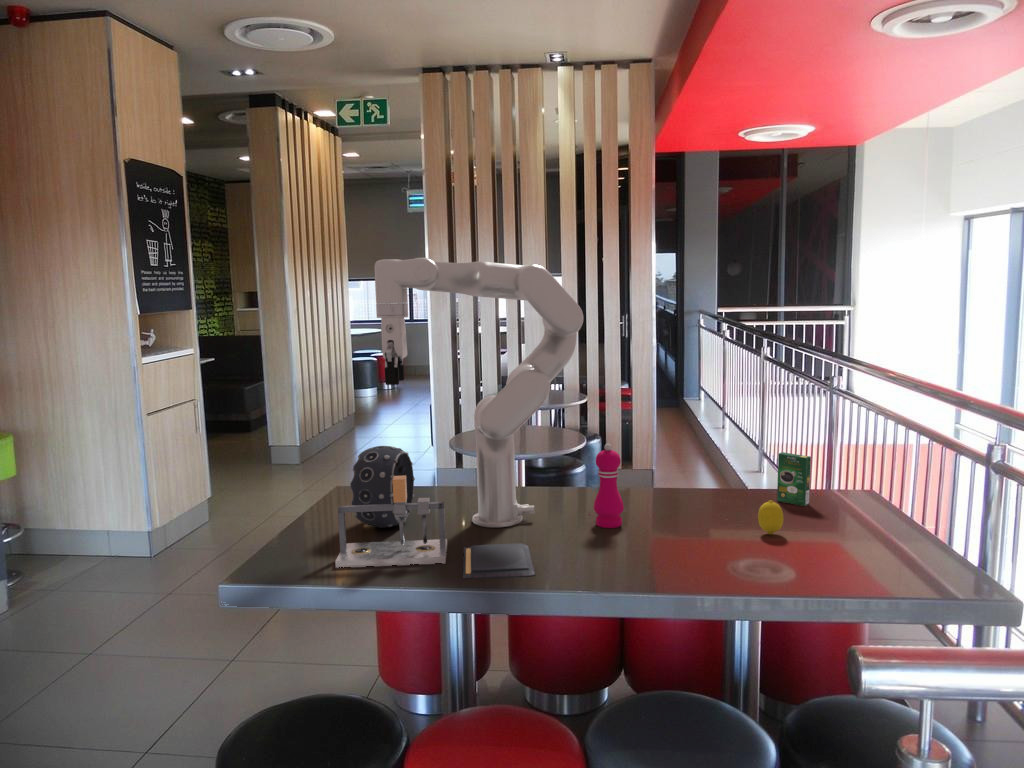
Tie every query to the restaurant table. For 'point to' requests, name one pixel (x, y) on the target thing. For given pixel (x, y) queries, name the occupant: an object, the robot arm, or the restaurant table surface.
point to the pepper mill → (608, 490)
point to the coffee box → (793, 479)
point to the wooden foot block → (400, 502)
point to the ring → (380, 483)
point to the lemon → (770, 517)
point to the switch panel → (393, 550)
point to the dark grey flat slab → (497, 561)
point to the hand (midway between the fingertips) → (395, 382)
